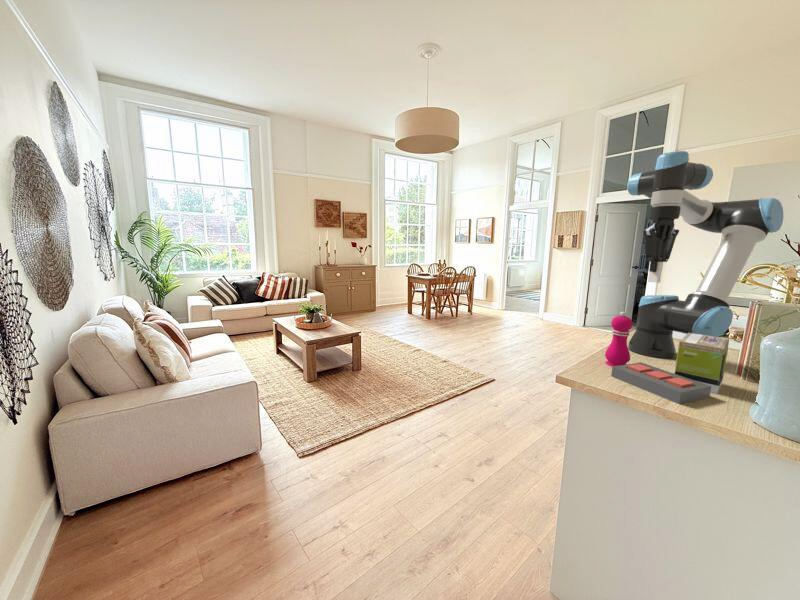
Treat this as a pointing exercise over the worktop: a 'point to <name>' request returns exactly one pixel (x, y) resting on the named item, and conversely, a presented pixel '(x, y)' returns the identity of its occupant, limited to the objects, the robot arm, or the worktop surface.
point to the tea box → (702, 359)
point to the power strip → (661, 384)
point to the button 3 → (680, 382)
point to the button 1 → (639, 368)
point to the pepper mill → (619, 341)
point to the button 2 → (659, 375)
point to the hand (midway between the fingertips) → (653, 282)
